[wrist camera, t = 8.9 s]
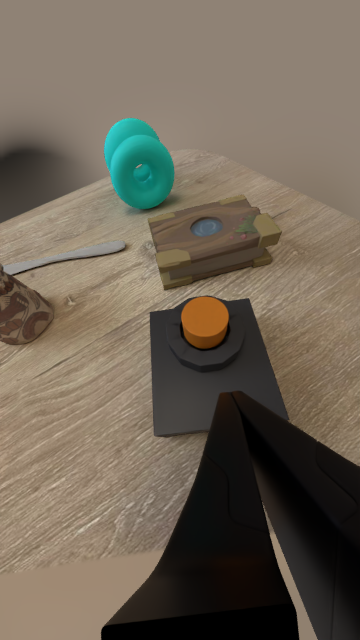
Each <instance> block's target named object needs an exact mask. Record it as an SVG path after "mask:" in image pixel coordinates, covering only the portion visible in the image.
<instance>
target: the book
mask: <svg viewBox="0 0 360 640" xmlns="http://www.w3.org/2000/svg"><path fill="white" fill-rule="evenodd" d="M148 222H149V227H150V231H151V235H152V239H153V242H154V246H155V248H156V250H157V253H155V256H156V260H157V264H158V267H159V271H160V276H161V279H162V283H163V286H164V290H166V289H169V288H172V287H176V286H183V285H186V284H190V283H192V281H195V280H199V279H203V278H207V277H211V276H214V275H218V274H222V273H226V272H229V271H233V270H237V269H241V268H244V267H248V266H253V268H254V267H258V266H262V265H266V264H269V263H270V262H271V259H272V257H271V255H270V254H269V253H268V251H267V250H266V248H265V247H267V246H271V245H275V244H277V243H278V241H279V238H280V235H281V233H282V231H281V230H280V228H279V227H278V226H277V225H276V224H275V222H274V221H273V220H272V219H271V217H270V216H269V215H268V213H264V214H261V213H260V210H259V208H257V207H251V205H250V204H249V202H248V201H247V199H246V197H245V196H244V195H239V196H234V197H231V198H227V199H223V200H219V201H218V202H213V203H209V204H204V205H200V206H196V207H192V208H188V209H184V210H180V211H176V212H171V213H167V214H162V215H159V216H156V217H152V218H148Z"/></svg>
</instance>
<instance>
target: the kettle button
mask: <svg viewBox="0 0 360 640" xmlns="http://www.w3.org/2000/svg"><path fill="white" fill-rule="evenodd" d="M181 320H182V325H183V331H184V335H185V338H186V339H187V341H188V342H189V343H190V344H192V345H193V346H195V347H197V348H202V349H209V348H213V347H215V346H217V345H219V344H220V343H221V342H222V341H223V339H224V337H225V335H226V330H227V325H228V321H229V314H228V310H227V308H226V307H225V305H224V304H223V303H222V302H221V301H219V300H217V299H215V298H212V297H198V298H195V299H193V300H191V301H190V302H188V303H187V304H186V306H185V307H184V309H183V311H182V314H181Z"/></svg>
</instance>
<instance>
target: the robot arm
mask: <svg viewBox="0 0 360 640" xmlns="http://www.w3.org/2000/svg"><path fill="white" fill-rule="evenodd" d="M261 499H262V500H261ZM262 502H263V504H264V507H265V509H266V512H267V514H268V517H269V519H270V522H271V524H272V527H273V529H274V532H275V534H276V537H277V539H278V542H279V544H280V547H281V549H282V552H283V554H284V557H285V559H286V562H287V564H288V567H289V569H290V572H291V574H292V577H293V579H294V581H295V584H296V587H297V589H298V591H299V594H300V596H301V599H302V601H303V604H304V607H305V609H306V612H307V614H308V617H309V619H310V622H311V624H312V627H313V629H314V632H315V634H316V636H317V639H318V640H360V467H359V466H357V465H356V464H354V463H352V462H350V461H349V460H347V459H346V458H344V457H342V456H341V455H339V454H338V453H336V452H335V451H333V450H331V449H330V448H328V447H327V446H325V445H324V444H322V443H321V442H319V441H318V442H317V440H316V439H314V438H313V437H311V436H310V435H308V434H307V433H305V432H304V431H302V430H301V429H299V428H298V427H296V426H294V425H293V424H291V423H290V422H288V421H287V420H285V419H284V418H282V417H281V416H279V415H278V414H276V413H275V412H273V411H272V410H270V409H268V408H267V407H265V406H264V405H262V404H261V403H259V402H258V401H256V400H255V399H253V398H252V397H250V396H249V395H247V394H246V393H244V392H243V391H240V390H239V391H232V392H231V393H230V392H223V393H220V394H219V397H218V401H217V404H216V408H215V412H214V415H213V419H212V423H211V426H210V430H209V433H208V437H207V441H206V444H205V448H204V451H203V455H202V458H201V462H200V465H199V469H198V472H197V475H196V478H195V481H194V483H193V486H192V488H191V491H190V493H189V496H188V498H187V501H186V503H185V505H184V507H183V510H182V512H181V514H180V517H179V519H178V521H177V523H176V526H175V528H174V530H173V533H172V535H171V537H170V539H169V542H168V544H167V546H166V548H165V551H164V553H163V555H162V557H161V559H160V561H159V562H158V564H157V566H156V567H155V569H154V571H153V572H152V573H151V575H150V576H149V578H148V579H147V580H146V581H145V583H143V584H142V586H141V587H140V588H139V589H138V590H137V591H136V592H135V593H134V594H133V595H132V596H131V597H130V598H129V600H128V601H127V602H126V603H125V604H124V605H123V606H122V607H121V608H120V609H119V610H118V611H117V613H116V614H115V615H114V616H113V617H112V618H111V619H110V620H109V621H108V622H107V623H106V624H105V626H104V627H103V628H102V630H101V640H299V633H298V622H297V613H296V609H295V607H294V604H293V602H292V599H291V597H290V594H289V592H288V589H287V587H286V585H285V582H284V579H283V577H282V574H281V572H280V569H279V567H278V563H277V559H276V557H275V553H274V549H273V545H272V541H271V538H270V533H269V529H268V525H267V520H266V516H265V512H264V508H263V504H262Z"/></svg>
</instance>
